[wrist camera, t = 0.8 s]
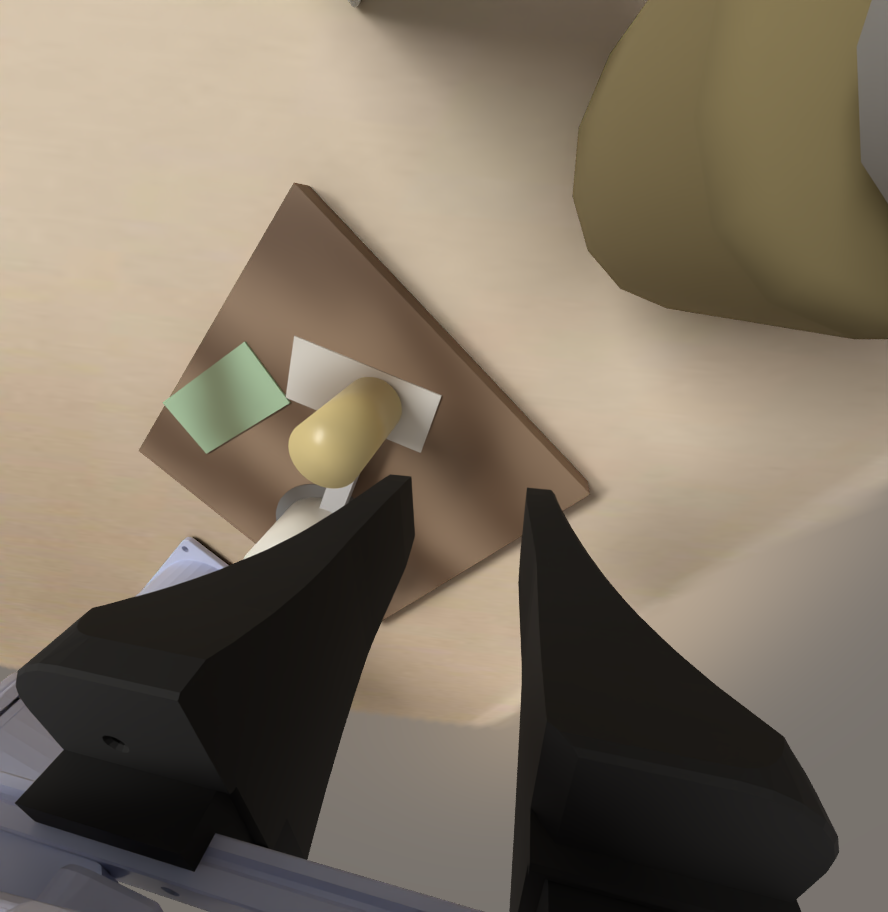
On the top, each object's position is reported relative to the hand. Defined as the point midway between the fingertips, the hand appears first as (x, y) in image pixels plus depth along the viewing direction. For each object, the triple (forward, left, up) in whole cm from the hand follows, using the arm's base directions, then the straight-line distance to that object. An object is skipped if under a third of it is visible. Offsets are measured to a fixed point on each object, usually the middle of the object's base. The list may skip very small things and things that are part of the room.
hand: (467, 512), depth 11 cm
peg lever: (-9, +2, -8) cm, 12 cm away
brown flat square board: (-9, +3, -9) cm, 13 cm away
